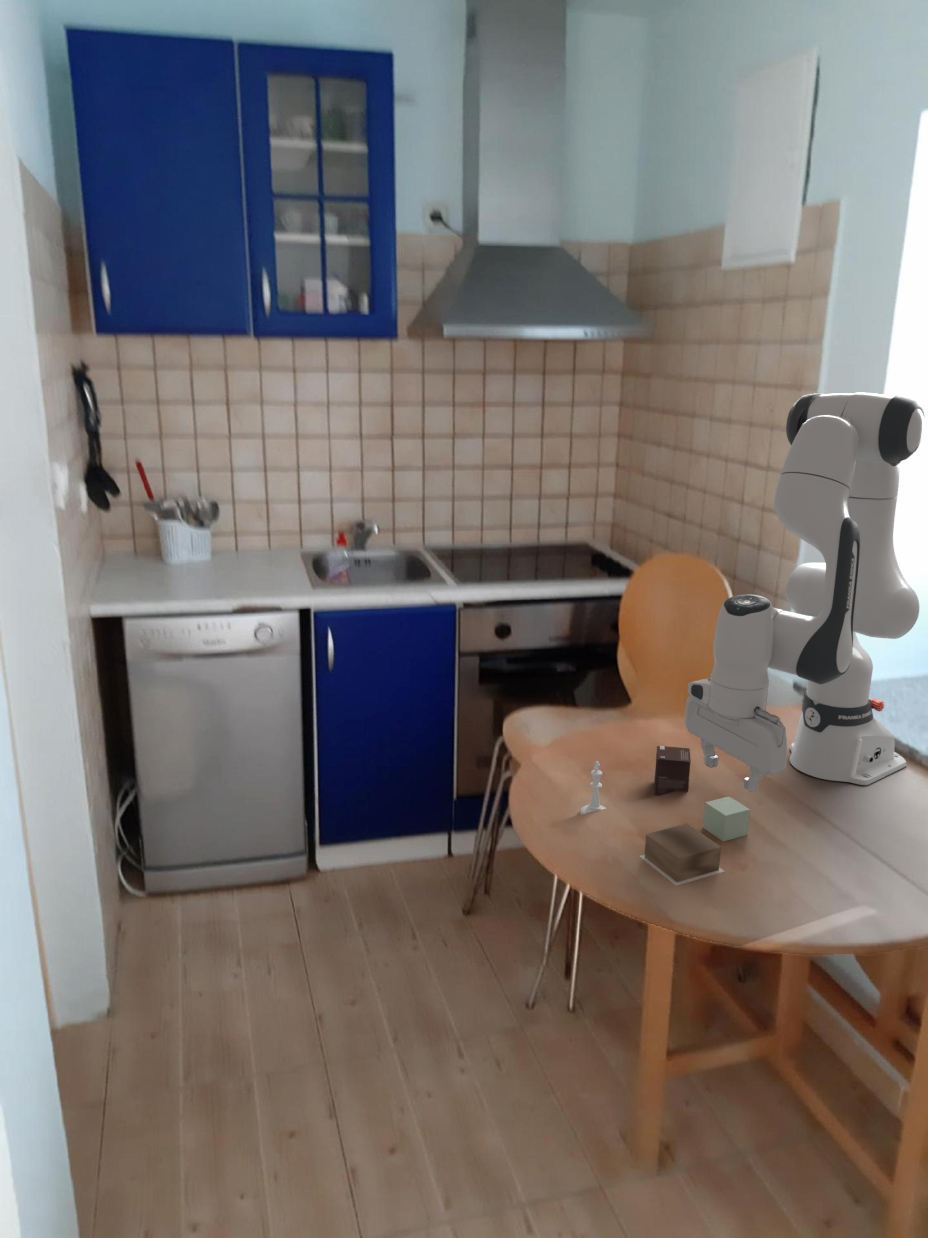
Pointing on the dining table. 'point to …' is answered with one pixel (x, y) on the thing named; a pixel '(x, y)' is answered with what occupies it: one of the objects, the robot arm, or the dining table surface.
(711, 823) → the sage block
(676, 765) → the box
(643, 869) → the dining table surface
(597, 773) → the chess piece
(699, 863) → the base block
